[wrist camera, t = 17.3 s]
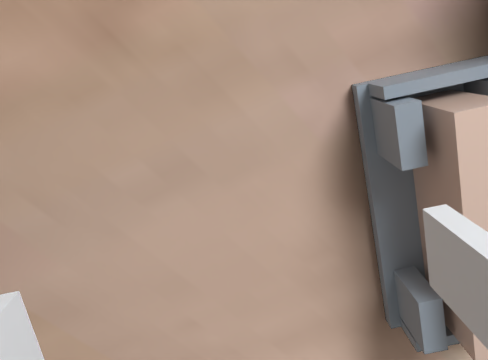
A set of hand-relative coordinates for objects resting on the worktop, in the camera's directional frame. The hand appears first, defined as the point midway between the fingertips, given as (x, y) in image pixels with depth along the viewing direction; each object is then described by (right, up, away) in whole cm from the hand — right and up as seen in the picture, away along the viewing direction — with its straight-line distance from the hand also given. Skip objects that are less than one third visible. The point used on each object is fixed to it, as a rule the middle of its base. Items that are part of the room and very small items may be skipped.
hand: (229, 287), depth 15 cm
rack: (+18, +2, +29) cm, 34 cm away
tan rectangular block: (+18, +1, +27) cm, 33 cm away
